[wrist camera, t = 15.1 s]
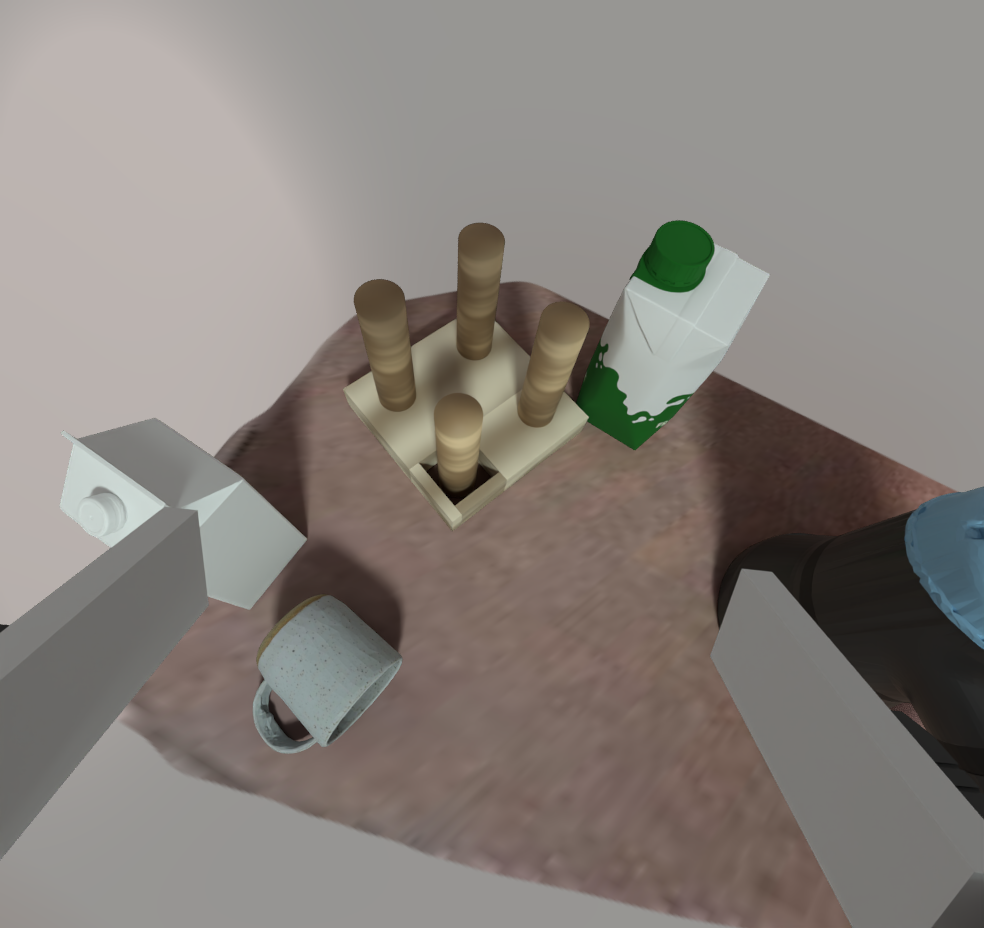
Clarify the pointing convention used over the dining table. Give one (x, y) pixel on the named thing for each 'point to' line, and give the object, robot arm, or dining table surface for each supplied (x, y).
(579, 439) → the dining table surface
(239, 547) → the milk carton
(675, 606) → the dining table surface
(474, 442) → the loose leg
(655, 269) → the soya milk
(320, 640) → the ceramic mug
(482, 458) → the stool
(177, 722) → the dining table surface
